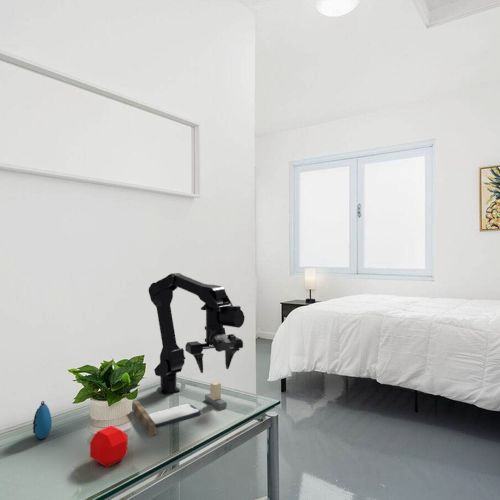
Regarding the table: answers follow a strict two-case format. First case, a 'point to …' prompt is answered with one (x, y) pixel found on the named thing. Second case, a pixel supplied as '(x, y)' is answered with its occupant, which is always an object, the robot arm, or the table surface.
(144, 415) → the walnut bar
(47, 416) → the ornament
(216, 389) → the scraper
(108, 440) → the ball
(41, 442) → the table surface
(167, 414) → the smartphone
